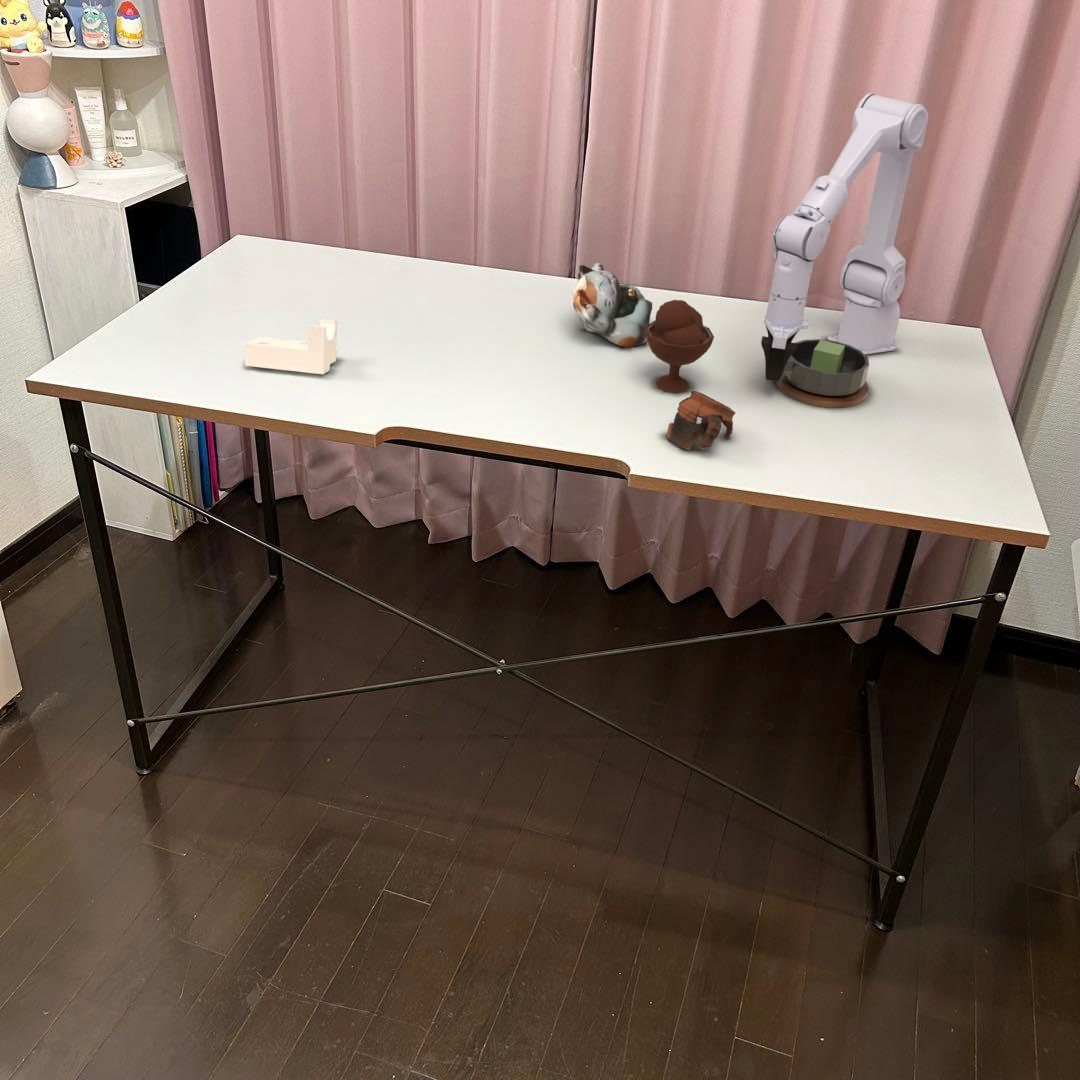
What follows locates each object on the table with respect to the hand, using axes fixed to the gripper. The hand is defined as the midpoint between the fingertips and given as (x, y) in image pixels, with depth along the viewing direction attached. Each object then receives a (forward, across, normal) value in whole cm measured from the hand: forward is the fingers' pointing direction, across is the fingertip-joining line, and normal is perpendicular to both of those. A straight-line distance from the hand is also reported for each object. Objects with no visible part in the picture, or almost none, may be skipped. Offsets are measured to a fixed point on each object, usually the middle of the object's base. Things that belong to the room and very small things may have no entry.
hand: (773, 372), depth 186 cm
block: (+1, +4, -8) cm, 9 cm away
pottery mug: (+4, -21, +9) cm, 23 cm away
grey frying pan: (+2, +3, -7) cm, 8 cm away
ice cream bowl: (+4, -4, +16) cm, 17 cm away
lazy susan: (+3, +4, -8) cm, 10 cm away
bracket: (+4, -18, +77) cm, 79 cm away
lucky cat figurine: (+4, +12, +29) cm, 32 cm away
